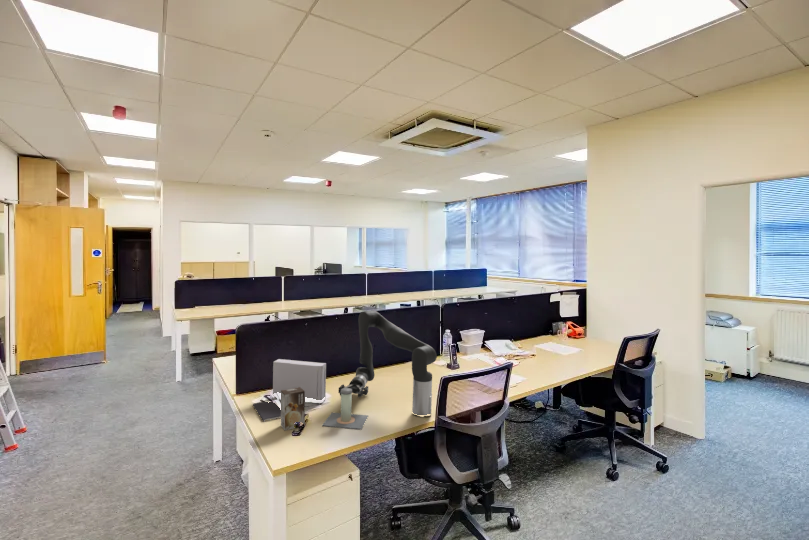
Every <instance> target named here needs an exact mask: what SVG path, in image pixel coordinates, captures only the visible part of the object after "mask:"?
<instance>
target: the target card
mask: <svg viewBox="0 0 809 540" xmlns="http://www.w3.org/2000/svg"><path fill="white" fill-rule="evenodd" d="M367 417H369V415H366V414H357V413H356V414H354V413H351V421H349V422H342V421H341V412H334V411H333V412H331V413H330V414H329V415H328V417H327V418H326V420H324V422H323V423H322V425H321V426H322V427H328V428H339V429H349V430H350V429H351V430H360V429H361V430H362V429H363V427H364V426H365V424H364V423H366V422H367V420H368V418H367ZM366 419H367V420H366ZM365 421H366V422H365ZM363 425H364V426H363Z"/></svg>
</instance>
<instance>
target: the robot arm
mask: <svg viewBox="0 0 809 540" xmlns="http://www.w3.org/2000/svg"><path fill="white" fill-rule="evenodd" d="M357 323H358V333H359V344H360V345H359V346H360V350H359V363H360V364H361V365H363V366H366V367H362V366H360V367H357V369H356V371H355V376H353V378H352V379H351V381H350V382H349V384H348V385H347V386H346V385H345V384H341V385H340V386H339V387H338V394H339V396H341V389H343V388H351V389H352V394H355V395H357V399H360V398H362V396H367V395H368V393H369V386H368V385H367V383H368V382H372V381H373V380H374V378H375V369H374V365H373V353H374V350H373V344H372V342H371V341H370V338H369V328H376V329H379V330H380V331H381V332H382V334H383V336H384V339H385V340H386V341H387V342H388V343H390V344H391V345H392V346H395V347H396V348H398V349H402V350H406V351H409V352H411V353H412V354H411V373H412V376H413V377H412V407H411V408H412V410H411V412H413V413H414V414H417V415H427V414H431V415H432V407H433V406H432V401H433V394H432V392H433V391H432V390H433V374H432V372H430V371H428V366H429V365H431V364H433V363H435V362H436V360H437V357H438V356H437V352H436V350H435V348H433V347H432V346H431V345H429V344H427V343H425V342H423V341H421V340H419V339H417V338H415V337H414V336H413V335H411V334H409V333H408V332H406V331H405V330H403V329H402V328H401V327H398V326H397V325H395V324H394V323H392V322H391V321H389V320H388V319H387V318H385V317H384V316H383V315H381V313H379V312H378V311H376V310H373V309H371V310H364V311H361V312H360V313H359V315H358V322H357ZM366 385H367V386H366Z"/></svg>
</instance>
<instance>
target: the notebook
mask: <svg viewBox="0 0 809 540" xmlns="http://www.w3.org/2000/svg"><path fill="white" fill-rule="evenodd" d="M252 406H254V407H255V408H254V407H253V408H254V410H255V409H256V410H257V411H256V410H255V411H256V413H257V412H258V413H257V415H258V416H259V415H260V416H259V417H260V419H261V418H262V419H261V421H262V420H263V421H264V422H266V421H265V420H268V421H271V420H270V419H273V420H277V419H276V418H278V419H281V410H280V408H279V407H278V406H277V405H276V404H275V403H273V402H269V403H268V402H265V401H260V402H253V403H252ZM263 421H262V422H263Z"/></svg>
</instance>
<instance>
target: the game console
mask: <svg viewBox="0 0 809 540" xmlns="http://www.w3.org/2000/svg"><path fill="white" fill-rule="evenodd" d="M272 363H273V364H272V365H273V366H272V372H273V373H272V395H273V394H274V393H277V392H279V393H281V390H286V389H292V388H298V387H301V388H302V389H303V390H304V391H305V397H307V398H313V399H316V400H322V399H323V398H324V397H325V398H326V392H327V390H326V387H327V386H326V385H327V363H326V362H315V361H305V360H304V361H303V360H293V359H292V360H291V359H282V358H278V359H276V360H274V361H273V362H272Z"/></svg>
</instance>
